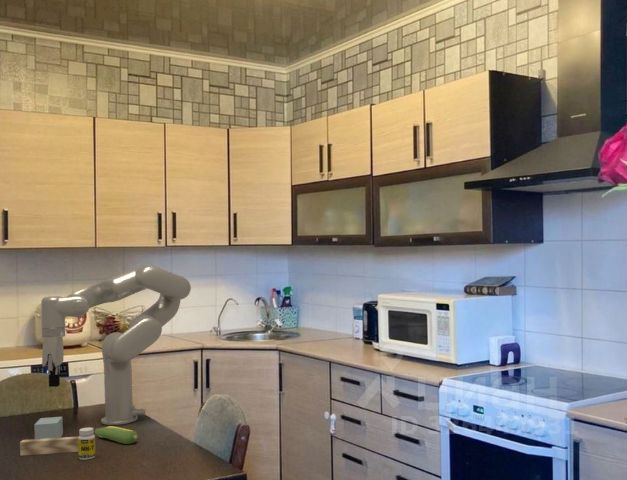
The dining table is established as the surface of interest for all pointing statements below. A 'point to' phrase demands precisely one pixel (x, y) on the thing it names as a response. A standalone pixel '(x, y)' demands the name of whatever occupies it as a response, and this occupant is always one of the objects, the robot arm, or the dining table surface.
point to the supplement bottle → (86, 444)
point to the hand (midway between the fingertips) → (54, 386)
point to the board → (49, 446)
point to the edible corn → (118, 434)
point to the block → (49, 428)
